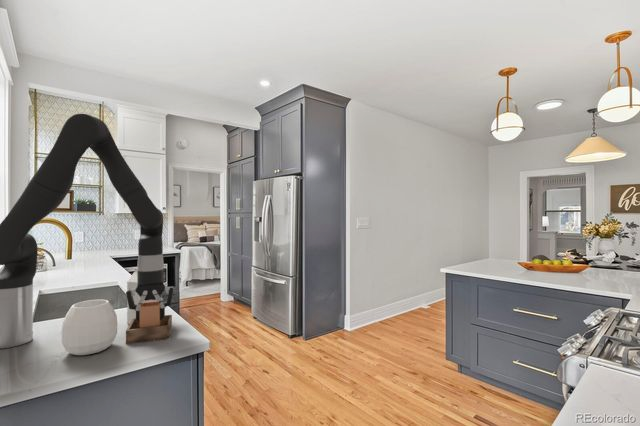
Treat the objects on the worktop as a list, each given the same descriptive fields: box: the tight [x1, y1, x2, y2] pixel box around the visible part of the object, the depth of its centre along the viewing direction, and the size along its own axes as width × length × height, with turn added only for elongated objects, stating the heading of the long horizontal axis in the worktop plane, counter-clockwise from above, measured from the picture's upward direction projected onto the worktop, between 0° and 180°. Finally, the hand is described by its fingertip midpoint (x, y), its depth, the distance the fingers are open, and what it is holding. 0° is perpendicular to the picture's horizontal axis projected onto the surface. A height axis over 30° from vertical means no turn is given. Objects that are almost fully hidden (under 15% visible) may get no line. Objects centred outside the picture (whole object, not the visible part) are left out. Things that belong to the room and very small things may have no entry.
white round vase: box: [61, 299, 118, 356], centre depth 94 cm, size 13×13×14 cm
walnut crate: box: [125, 314, 173, 345], centre depth 106 cm, size 12×12×4 cm
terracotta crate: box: [140, 301, 161, 328], centre depth 106 cm, size 6×6×7 cm
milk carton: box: [126, 268, 157, 325], centre depth 119 cm, size 7×7×19 cm
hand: (150, 320), depth 106 cm, fingers closed on terracotta crate, 5 cm apart
